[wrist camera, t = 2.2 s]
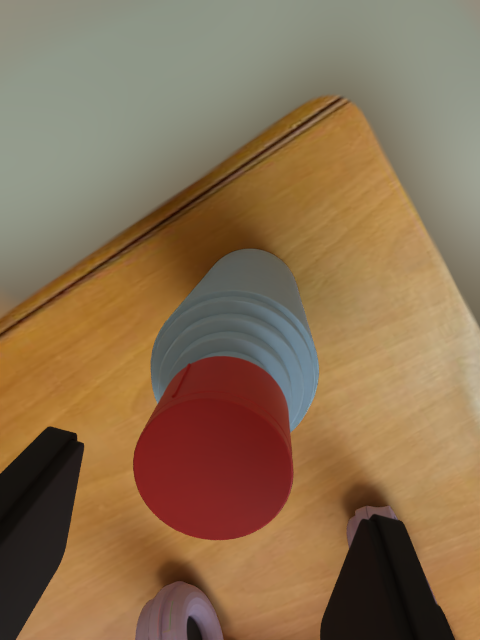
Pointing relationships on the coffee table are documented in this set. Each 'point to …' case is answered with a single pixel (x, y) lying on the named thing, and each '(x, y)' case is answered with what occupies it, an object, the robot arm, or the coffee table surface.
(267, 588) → the coffee table surface
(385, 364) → the coffee table surface
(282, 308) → the bottle
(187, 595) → the headphones
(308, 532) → the coffee table surface
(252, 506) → the cap
